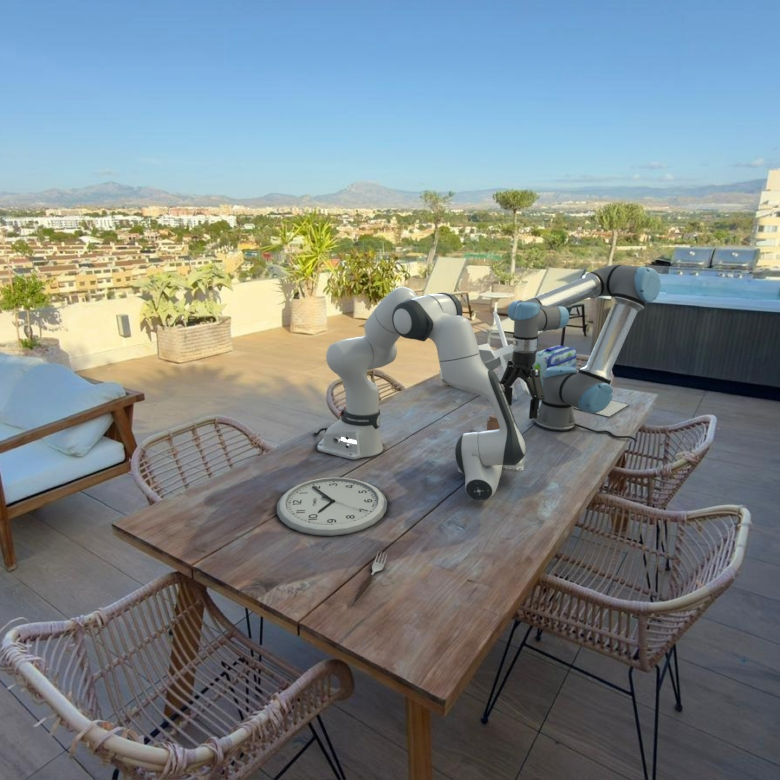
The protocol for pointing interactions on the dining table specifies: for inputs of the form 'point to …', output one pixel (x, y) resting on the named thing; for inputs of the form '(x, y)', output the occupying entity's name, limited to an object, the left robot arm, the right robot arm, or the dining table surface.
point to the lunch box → (554, 358)
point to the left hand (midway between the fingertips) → (493, 448)
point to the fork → (375, 568)
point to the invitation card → (611, 408)
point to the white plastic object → (497, 356)
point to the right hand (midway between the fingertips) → (519, 411)
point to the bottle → (492, 423)
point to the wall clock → (331, 506)
